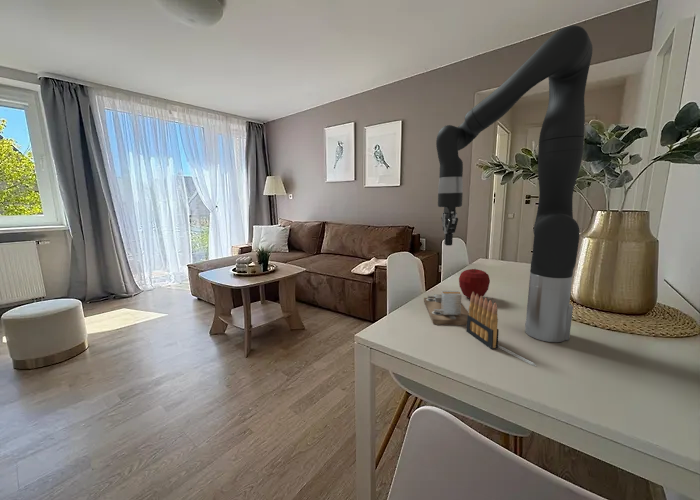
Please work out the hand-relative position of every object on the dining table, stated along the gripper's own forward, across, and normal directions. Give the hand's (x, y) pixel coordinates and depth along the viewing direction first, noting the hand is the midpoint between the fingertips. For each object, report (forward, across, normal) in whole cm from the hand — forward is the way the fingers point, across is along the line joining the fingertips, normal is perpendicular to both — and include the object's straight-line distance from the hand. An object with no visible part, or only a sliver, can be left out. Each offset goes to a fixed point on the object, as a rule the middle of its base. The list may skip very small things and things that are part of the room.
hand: (448, 245), depth 96 cm
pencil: (+23, -28, -8) cm, 37 cm away
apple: (+22, +12, -12) cm, 28 cm away
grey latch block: (+20, -9, +2) cm, 22 cm away
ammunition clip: (+22, -22, -4) cm, 32 cm away
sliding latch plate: (+22, -3, +1) cm, 22 cm away
